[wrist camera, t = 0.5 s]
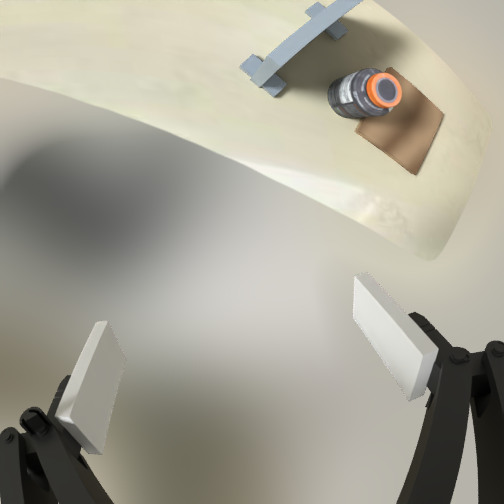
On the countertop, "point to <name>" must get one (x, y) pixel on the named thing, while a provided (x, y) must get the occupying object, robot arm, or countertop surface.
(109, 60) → the countertop surface
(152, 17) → the countertop surface
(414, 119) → the plinth
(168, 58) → the countertop surface
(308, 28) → the screen
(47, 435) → the robot arm
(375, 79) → the pill bottle
